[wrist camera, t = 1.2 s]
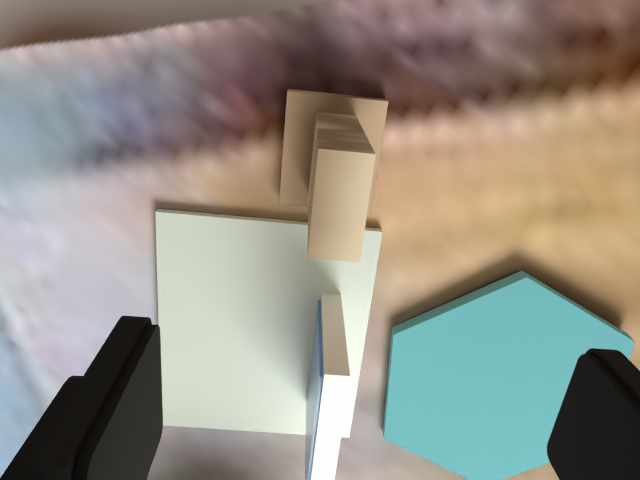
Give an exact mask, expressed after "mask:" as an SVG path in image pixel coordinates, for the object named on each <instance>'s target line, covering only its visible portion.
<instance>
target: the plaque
mask: <svg viewBox="0 0 640 480" xmlns="http://www.w3.org/2000/svg"><path fill="white" fill-rule="evenodd" d="M634 343H635V341H634V340H633V339H632V338H631V337H630V336H629V335H628V334H627V333H626V332H624V331H622V330H621V329H619V328H617V327H616V326H614V325H612V324H611V323H609V322H607V321H606V320H604V319H602V318H600V317H599V316H597V315H595V314H594V313H592V312H590V311H589V310H587V309H585V308H584V307H582V306H580V305H579V304H577V303H575V302H574V301H572V300H570V299H569V298H567V297H565V296H564V295H562V294H560V293H559V292H557V291H555V290H554V289H552V288H550V287H549V286H547V285H545V284H544V283H542V282H540V281H539V280H537V279H535V278H534V277H532V276H530V275H529V274H527V273H525V272H524V271H519V272H517V273H515V274H512V275H510V276H508V277H505V278H503V279H501V280H499V281H496V282H494V283H492V284H489V285H487V286H485V287H483V288H480V289H478V290H476V291H473V292H471V293H469V294H467V295H464V296H462V297H460V298H457V299H455V300H453V301H451V302H448V303H446V304H444V305H441V306H439V307H437V308H434V309H432V310H430V311H428V312H425V313H423V314H421V315H418V316H416V317H414V318H412V319H409V320H407V321H405V322H402V323H400V324H398V325H396V326H393V327H392V334H391V345H390V356H389V367H388V379H387V390H386V401H385V413H384V424H383V436H384V439H386V440H388V441H390V442H392V443H394V444H396V445H398V446H401V447H403V448H405V449H407V450H409V451H411V452H413V453H415V454H417V455H419V456H421V457H423V458H425V459H427V460H430V461H432V462H434V463H436V464H438V465H440V466H442V467H444V468H446V469H448V470H450V471H452V472H454V473H456V474H459V475H461V476H463V477H465V478H467V479H469V480H501V479H504V478H507V477H510V476H513V475H515V474H518V473H521V472H524V471H527V470H530V469H533V468H536V467H539V466H541V465H544V464H547V463H550V461H549V459H548V455H547V443H548V440H549V438H550V435H551V432H552V429H553V427H554V424H555V421H556V418H557V415H558V413H559V410H560V407H561V404H562V402H563V399H564V396H565V393H566V391H567V388H568V385H569V382H570V380H571V377H572V374H573V371H574V369H575V366H576V363H577V360H578V358H579V357H580V356H581V355H582V354H585V353H586V352H587V351H588V350H589V349H591V348H597V349H612V350H618V351H620V352H621V353H623V354H624V355H625V356H626V357H627V358H628V360H629V358H630V355H631V352H632V349H633V346H634Z"/></svg>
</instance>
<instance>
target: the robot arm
mask: <svg viewBox="0 0 640 480" xmlns="http://www.w3.org/2000/svg"><path fill="white" fill-rule="evenodd" d="M162 428H163V406H162V373H161V341H160V327H159V325H152V322H151V319H150V318H149V317H134V316H122V317H121V318H120V319H119V321H118V322H117V324H116V325H115V327H114V329H113V330H112V332H111V333H110V335H109V336H108V338H107V340H106V341H105V343H104V344H103V346H102V348H101V349H100V351H99V352H98V354H97V355H96V357H95V359H94V360H93V362H92V363H91V365H90V366H89V368H88V370H87V371H86V373H85V374H84V376H72V377H69V378H68V380H67V381H66V382H65V383H64V384H63V386H62V387H61V389H60V390H59V392H58V393H57V395H56V396H55V398H54V399H53V401H52V402H51V404H50V405H49V407H48V408H47V410H46V411H45V413H44V414H43V416H42V417H41V419H40V420H39V422H38V423H37V425H36V426H35V428H34V429H33V430H32V432H31V433H30V435H29V436H28V438H27V439H26V441H25V442H24V444H23V445H22V447H21V448H20V450H19V451H18V453H17V454H16V456H15V457H14V459H13V460H12V462H11V463H10V465H9V466H8V468H7V469H6V471H5V472H4V474H3V475H2V477H1V478H0V480H146V479H147V476H148V473H149V470H150V467H151V464H152V462H153V459H154V456H155V453H156V450H157V447H158V445H159V442H160V438H161V434H162ZM547 455H548V459H549V461H550V463H551V465H552V467H553V468H554V470H555V472H556V474H557V476H558V477H559V479H560V480H640V371H639V370H638V369H637V368H636V367H635V366H634V365H633V364H632V363H631V362H630V361H629V360H628V358H627V357H626V356H625V355H624V354H623V353H621V352H620V351H618V350H612V349H597V348H591V349H589V350H588V351H587V352H586V353H585V354H582V355H581V356H580V357H579V358H578V360H577V363H576V366H575V369H574V371H573V374H572V377H571V380H570V382H569V385H568V388H567V391H566V393H565V396H564V399H563V402H562V404H561V407H560V410H559V413H558V415H557V418H556V421H555V424H554V427H553V429H552V432H551V435H550V438H549V440H548V443H547Z"/></svg>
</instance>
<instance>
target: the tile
mask: <svg viewBox="0 0 640 480" xmlns="http://www.w3.org/2000/svg"><path fill="white" fill-rule="evenodd" d="M349 380H350V371H349V362H348V353H347V344H346V335H345V326H344V317H343V308H342V299H341V295H339V294H327V293H321V300H318V304H317V312H316V321H315V330H314V339H313V347H312V356H311V365H310V374H309V383H308V391H307V400H306V447H305V480H334V478H335V472H336V465H337V459H338V452H339V446H340V439H341V433H342V426H343V420H344V413H345V406H346V400H347V393H348V387H349Z"/></svg>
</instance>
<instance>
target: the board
mask: <svg viewBox="0 0 640 480" xmlns="http://www.w3.org/2000/svg"><path fill="white" fill-rule="evenodd" d="M155 214H156V251H157V287H158V324H159V327H160V341H161V373H162V406H163V425H165V426H180V427H196V428H211V429H226V430H241V431H256V432H271V433H286V434H302V435H306V400H307V391H308V383H309V374H310V365H311V356H312V347H313V339H314V330H315V321H316V312H317V304H318V300H321V293H327V294H339V295H341V299H342V308H343V317H344V326H345V335H346V344H347V353H348V362H349V371H350V380H349V387H348V393H347V400H346V406H345V413H344V420H343V426H342V433H341V437H347V438H349V436H350V430H351V423H352V417H353V411H354V405H355V399H356V392H357V386H358V380H359V374H360V368H361V361H362V355H363V349H364V343H365V337H366V330H367V324H368V318H369V312H370V306H371V299H372V293H373V287H374V281H375V275H376V268H377V262H378V256H379V250H380V244H381V237H382V229H380V228H369V227H365V231H364V238H363V245H362V252H361V259H360V263H359V262H347V261H336V260H324V259H312V258H307V242H308V222H301V221H290V220H279V219H268V218H256V217H245V216H234V215H223V214H211V213H200V212H189V211H178V210H167V209H157V211H156V212H155Z"/></svg>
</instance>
